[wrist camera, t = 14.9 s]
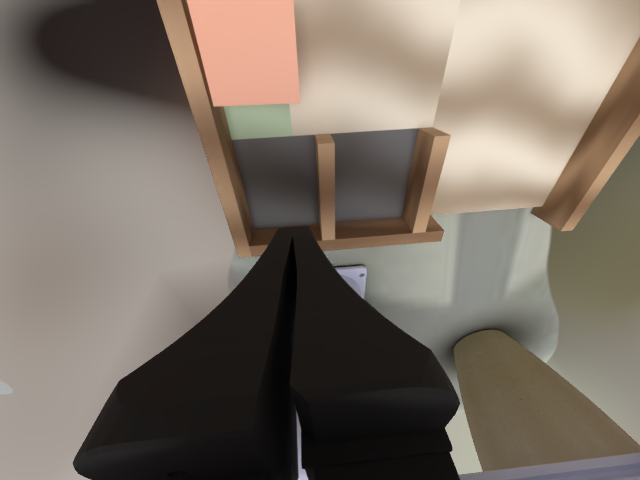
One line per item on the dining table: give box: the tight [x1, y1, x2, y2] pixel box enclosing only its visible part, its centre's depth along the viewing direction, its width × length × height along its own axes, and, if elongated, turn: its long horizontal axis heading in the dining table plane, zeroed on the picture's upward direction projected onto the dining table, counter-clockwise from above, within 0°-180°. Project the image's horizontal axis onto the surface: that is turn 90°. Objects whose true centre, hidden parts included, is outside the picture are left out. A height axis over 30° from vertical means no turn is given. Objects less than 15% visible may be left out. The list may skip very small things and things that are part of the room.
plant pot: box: [454, 330, 640, 472], centre depth 29 cm, size 15×15×16 cm
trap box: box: [157, 0, 640, 258], centre depth 15 cm, size 17×27×3 cm, turn 92°
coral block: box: [187, 0, 300, 107], centre depth 12 cm, size 4×4×4 cm
